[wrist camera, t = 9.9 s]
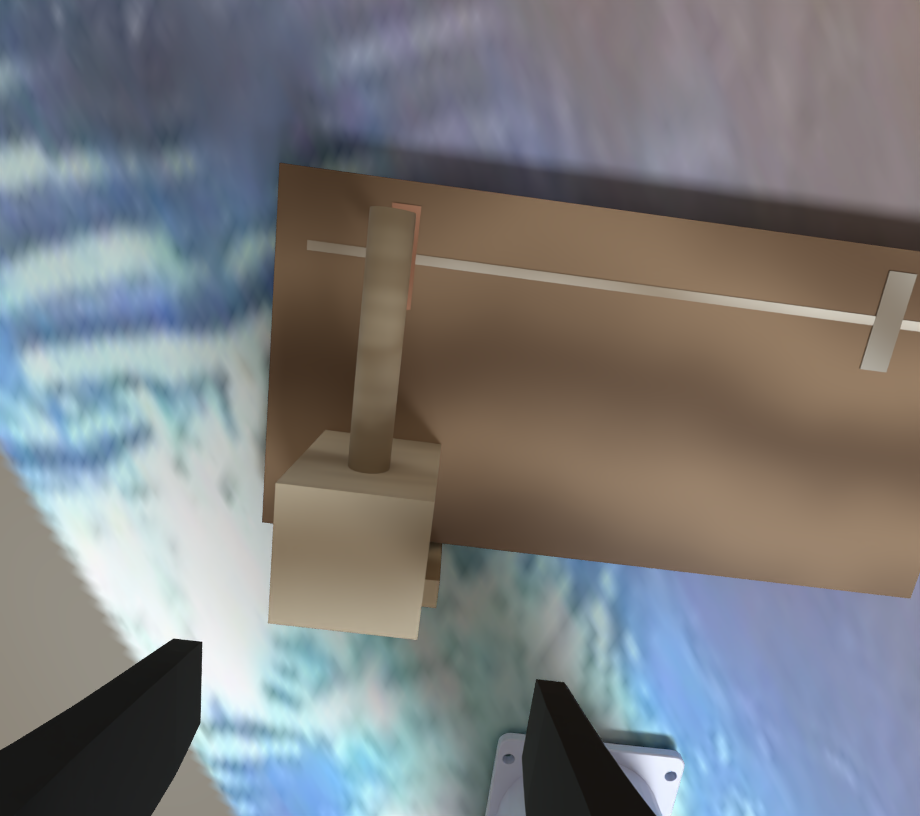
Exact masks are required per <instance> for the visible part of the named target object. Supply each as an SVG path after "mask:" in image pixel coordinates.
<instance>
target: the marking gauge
mask: <svg viewBox="0 0 920 816" xmlns="http://www.w3.org/2000/svg"><path fill="white" fill-rule="evenodd" d="M415 223H416V213H414V212H411V211H407V210H402V209H397V208H391V207H382V206H371V207H370V210H369V222H368V234H367V246H366V257H365V269H364V281H363V292H362V304H361V316H360V327H359V339H358V351H357V362H356V374H355V386H354V397H353V409H352V421H351V432H350V433H346V432H338V431H330V430H325V431H324V432H323V433H322V434H321V435H320V436H319V437H318V438H317V440H316V441H315V442H314V443H313V444H312V445H311V446H310V447H309V448H308V449H307V450H306V451H305V452H304V453H303V454H302V455H301V457H300V458H299V459H298V460H297V461H296V462H295V463H294V464H293V465H292V466H291V467H290V468H289V469H288V470H287V471H286V472H285V474H284V475H283V476H282V477H281V478H280V479H279V480H278V481H277V482H276V484H275V503H274V521H273V540H272V559H271V578H270V596H269V615H268V623H270V624H279V625H288V626H297V627H306V628H315V629H324V630H333V631H341V632H350V633H359V634H368V635H377V636H386V637H395V638H404V639H413V640H417V638H418V630H419V622H420V614H421V607H430V608H436V605H437V598H438V590H439V583H440V569H441V554H442V543H434V542H430V535H431V528H432V520H433V512H434V504H435V495H436V487H437V478H438V469H439V460H440V451H441V444H435V443H427V442H419V441H411V440H403V439H395V438H393V433H394V423H395V414H396V404H397V395H398V385H399V376H400V366H401V356H402V347H403V337H404V328H405V318H406V309H407V299H408V290H409V280H410V271H411V261H412V251H413V242H414V232H415Z"/></svg>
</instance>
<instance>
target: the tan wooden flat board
mask: <svg viewBox="0 0 920 816" xmlns="http://www.w3.org/2000/svg"><path fill="white" fill-rule="evenodd" d="M371 206H382V207H391V208H397V209H402V210H407V211H411V212H414V213H416V223H415V232H414V242H413V251H412V261H411V271H410V280H409V290H408V299H407V309H406V318H405V328H404V337H403V347H402V356H401V366H400V376H399V385H398V395H397V404H396V414H395V423H394V433H393V438H395V439H403V440H411V441H419V442H427V443H435V444H441V451H440V460H439V469H438V478H437V487H436V495H435V504H434V512H433V520H432V528H431V535H430V542H434V543H443V544H452V545H460V546H469V547H477V548H486V549H494V550H503V551H511V552H520V553H528V554H537V555H545V556H554V557H562V558H571V559H579V560H588V561H596V562H605V563H613V564H622V565H630V566H639V567H647V568H656V569H664V570H673V571H681V572H690V573H698V574H707V575H715V576H724V577H732V578H741V579H749V580H758V581H766V582H775V583H783V584H792V585H800V586H809V587H817V588H826V589H834V590H843V591H851V592H860V593H868V594H877V595H885V596H894V597H902V598H911V595H912V592H913V590H914V587H915V584H916V581H917V579H918V576H919V573H920V252H919V251H912V250H905V249H898V248H890V247H883V246H876V245H869V244H862V243H854V242H847V241H840V240H833V239H826V238H818V237H811V236H804V235H797V234H789V233H782V232H775V231H768V230H761V229H753V228H746V227H739V226H732V225H725V224H717V223H710V222H703V221H696V220H689V219H681V218H674V217H667V216H660V215H652V214H645V213H638V212H631V211H624V210H616V209H609V208H602V207H595V206H588V205H580V204H573V203H566V202H559V201H551V200H544V199H537V198H530V197H523V196H515V195H508V194H501V193H494V192H487V191H479V190H472V189H465V188H458V187H451V186H443V185H436V184H429V183H422V182H414V181H407V180H400V179H393V178H386V177H378V176H371V175H364V174H357V173H350V172H342V171H335V170H328V169H321V168H314V167H306V166H299V165H292V164H285V163H279V184H278V205H277V225H276V246H275V267H274V288H273V308H272V329H271V350H270V371H269V391H268V412H267V433H266V454H265V475H264V495H263V516H262V522H264V523H273V521H274V503H275V484H276V482H277V481H278V480H279V479H280V478H281V477H282V476H283V475H284V474H285V472H286V471H287V470H288V469H289V468H290V467H291V466H292V465H293V464H294V463H295V462H296V461H297V460H298V459H299V458H300V457H301V455H302V454H303V453H304V452H305V451H306V450H307V449H308V448H309V447H310V446H311V445H312V444H313V443H314V442H315V441H316V440H317V438H318V437H319V436H320V435H321V434H322V433H323V432H324V431H325V430H330V431H338V432H346V433H350V432H351V421H352V409H353V397H354V386H355V374H356V362H357V351H358V339H359V327H360V316H361V304H362V292H363V281H364V269H365V257H366V246H367V234H368V222H369V210H370V207H371Z"/></svg>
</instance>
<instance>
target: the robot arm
mask: <svg viewBox="0 0 920 816" xmlns="http://www.w3.org/2000/svg"><path fill="white" fill-rule="evenodd" d="M201 676H202V642H199V641H190V640H181V639H172V640H171V641H169V642H168V643H166V644H165V645H163V646H162V647H160V648H159V649H157V650H156V651H154V652H153V653H151V654H150V655H148V656H147V657H145V658H144V659H142V660H141V661H139V662H138V663H137V664H135V665H134V666H132V667H131V668H129V669H128V670H126V671H125V672H124V673H122V674H120V675H119V676H117V677H116V678H114V679H113V680H112V681H110V682H109V683H107V684H105V685H104V686H102V687H101V688H100V689H98V690H96V691H95V692H93V693H92V694H90V695H89V696H87V697H86V698H84V699H83V700H81V701H80V702H78V703H77V704H75V705H74V706H72V707H71V708H69V709H67V710H66V711H64V712H62V713H61V714H59V715H58V716H56V717H54V718H53V719H51V720H49V721H48V722H46V723H45V724H43V725H41V726H40V727H38V728H37V729H35V730H33V731H32V732H30V733H28V734H27V735H25V736H23V737H22V738H20V739H19V740H17V741H15V742H14V743H12V744H10V745H9V746H7V747H5V748H3V749H2V750H0V816H151V815H152V813H153V812H154V810H155V808H156V807H157V805H158V803H159V802H160V800H161V798H162V797H163V795H164V793H165V792H166V790H167V789H168V787H169V785H170V784H171V782H172V780H173V778H174V777H175V775H176V773H177V771H178V769H179V767H180V765H181V763H182V761H183V759H184V757H185V755H186V753H187V751H188V748H189V746H190V744H191V742H192V740H193V738H194V735H195V733H196V731H197V729H198V727H199V725H200V718H201ZM506 754H511V756H505V755H506ZM683 770H684V761H683V759H682V757H681V755H680V753H678V752H677V751H674V750H668V749H658V748H649V747H639V746H630V745H621V744H611V743H603V742H602V740H601V739H600V737H599V736H598V734H597V733H596V731H595V729H594V728H593V726H592V725H591V723H590V722H589V720H588V719H587V717H586V715H585V714H584V712H583V711H582V709H581V708H580V706H579V704H578V703H577V701H576V700H575V698H574V696H573V695H572V693H571V692H570V690H569V688H568V687H567V686H566V684H565V683H564V682H556V681H547V680H538V679H536V683H535V689H534V694H533V699H532V705H531V710H530V716H529V721H528V726H527V732H526V734H518V733H506V734H503V735H502V736H501V737H500V738H499V740H498V744H497V750H496V756H495V762H494V767H493V773H492V779H491V784H490V790H489V796H488V801H487V807H486V813H485V816H671V814H672V810H673V806H674V803H675V799H676V795H677V792H678V788H679V785H680V781H681V777H682V774H683ZM669 771H671V772H669ZM667 772H669V773H667Z"/></svg>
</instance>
